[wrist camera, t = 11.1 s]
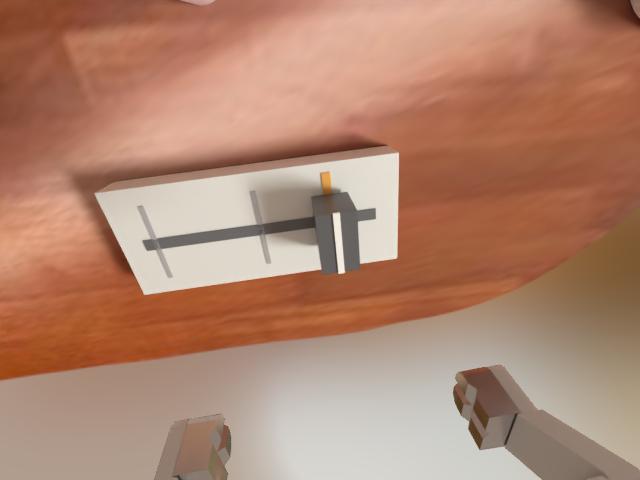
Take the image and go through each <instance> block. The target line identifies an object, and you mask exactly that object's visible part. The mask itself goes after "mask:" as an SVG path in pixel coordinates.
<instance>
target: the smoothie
mask: <svg viewBox="0 0 640 480" xmlns="http://www.w3.org/2000/svg"><path fill="white" fill-rule="evenodd" d="M181 1H184V2H188V3H191V4H195V5H207V4H210V3H212V2H213V1H215V0H181Z"/></svg>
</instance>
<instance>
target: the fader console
mask: <svg viewBox="0 0 640 480" xmlns="http://www.w3.org/2000/svg"><path fill="white" fill-rule="evenodd" d="M398 179H399V152H397V151H396V150H394V149H393V148H391V147H390V146H380V147H372V148H365V149H357V150H350V151H342V152H335V153H327V154H320V155H312V156H305V157H297V158H290V159H282V160H275V161H267V162H259V163H252V164H244V165H237V166H229V167H222V168H214V169H207V170H199V171H192V172H184V173H177V174H169V175H162V176H154V177H146V178H139V179H131V180H124V181H116V182H113V183H111V184H109V185H108V186H106V187H104V188H102V189H101V190H99V191H97V192H96V193H94V194H95V196H96V198H97V200H98V202H99V204H100V206H101V208H102V210H103V212H104V214H105V216H106V218H107V220H108V222H109V224H110V226H111V228H112V230H113V232H114V234H115V236H116V238H117V240H118V242H119V244H120V246H121V248H122V250H123V252H124V254H125V256H126V258H127V260H128V262H129V264H130V266H131V268H132V270H133V272H134V274H135V276H136V278H137V280H138V282H139V285H140V287H141V289H142V291H143V293H144V295H146V294H153V293H160V292H167V291H174V290H181V289H188V288H195V287H202V286H209V285H216V284H223V283H230V282H237V281H244V280H250V279H257V278H264V277H271V276H278V275H285V274H292V273H299V272H306V271H313V270H320V269H321V264H320V258H319V252H318V246H317V238H316V230H315V223H314V215H313V208H312V200H311V197H313V196H320V195H327V194H335V193H342V192H348V194H349V196H350V198H351V200H352V201H353V203H354V205H355V207H356V209H357V215H358V234H359V253H360V264H361V263H368V262H375V261H382V260H389V259H396V258H397V236H398Z"/></svg>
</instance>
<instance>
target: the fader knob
mask: <svg viewBox="0 0 640 480" xmlns="http://www.w3.org/2000/svg"><path fill="white" fill-rule="evenodd" d="M311 200H312V208H313V215H314V223H315V230H316V238H317V246H318V252H319V258H320V264H321V270H322V275H324V274H331V273H338V274H341V273H345V271H352V270H359V269H360V253H359V234H358V215H357V209H356V207H355V205H354V203H353V201H352V200H351V198H350V196H349V194H348V192H342V193H335V194H327V195H320V196H313V197H311Z"/></svg>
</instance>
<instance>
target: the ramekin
mask: <svg viewBox="0 0 640 480" xmlns="http://www.w3.org/2000/svg"><path fill="white" fill-rule="evenodd" d="M630 1H631V5H632V7H633V10H634V11H635V13H636V14H637V16H638V17H639V18H640V0H630Z"/></svg>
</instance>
